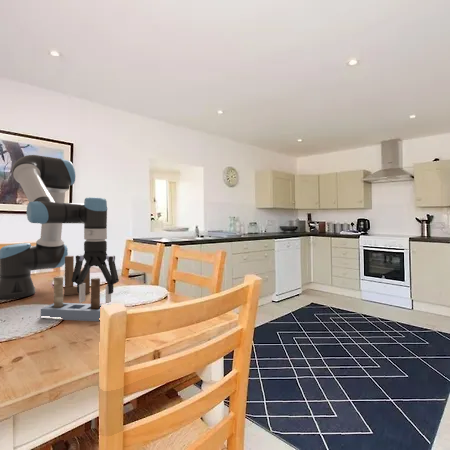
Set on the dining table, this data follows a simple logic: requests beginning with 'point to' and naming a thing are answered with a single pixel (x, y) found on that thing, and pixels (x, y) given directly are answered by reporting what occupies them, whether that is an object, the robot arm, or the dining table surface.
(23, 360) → the dining table surface
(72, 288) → the wooden block
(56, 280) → the beech dowel
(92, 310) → the hole block
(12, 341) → the dining table surface
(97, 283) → the walnut dowel
